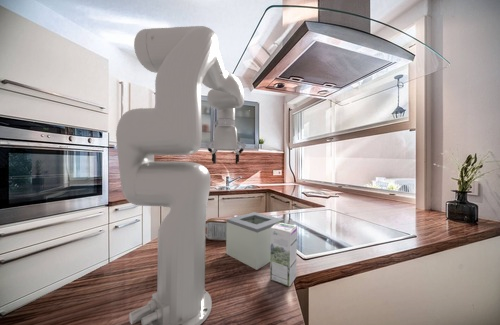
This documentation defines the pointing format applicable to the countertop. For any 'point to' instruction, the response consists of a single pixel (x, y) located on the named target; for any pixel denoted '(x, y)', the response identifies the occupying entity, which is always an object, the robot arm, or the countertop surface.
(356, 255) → the countertop surface
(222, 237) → the tin
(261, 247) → the post box
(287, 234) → the syrup box
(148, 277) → the countertop surface
